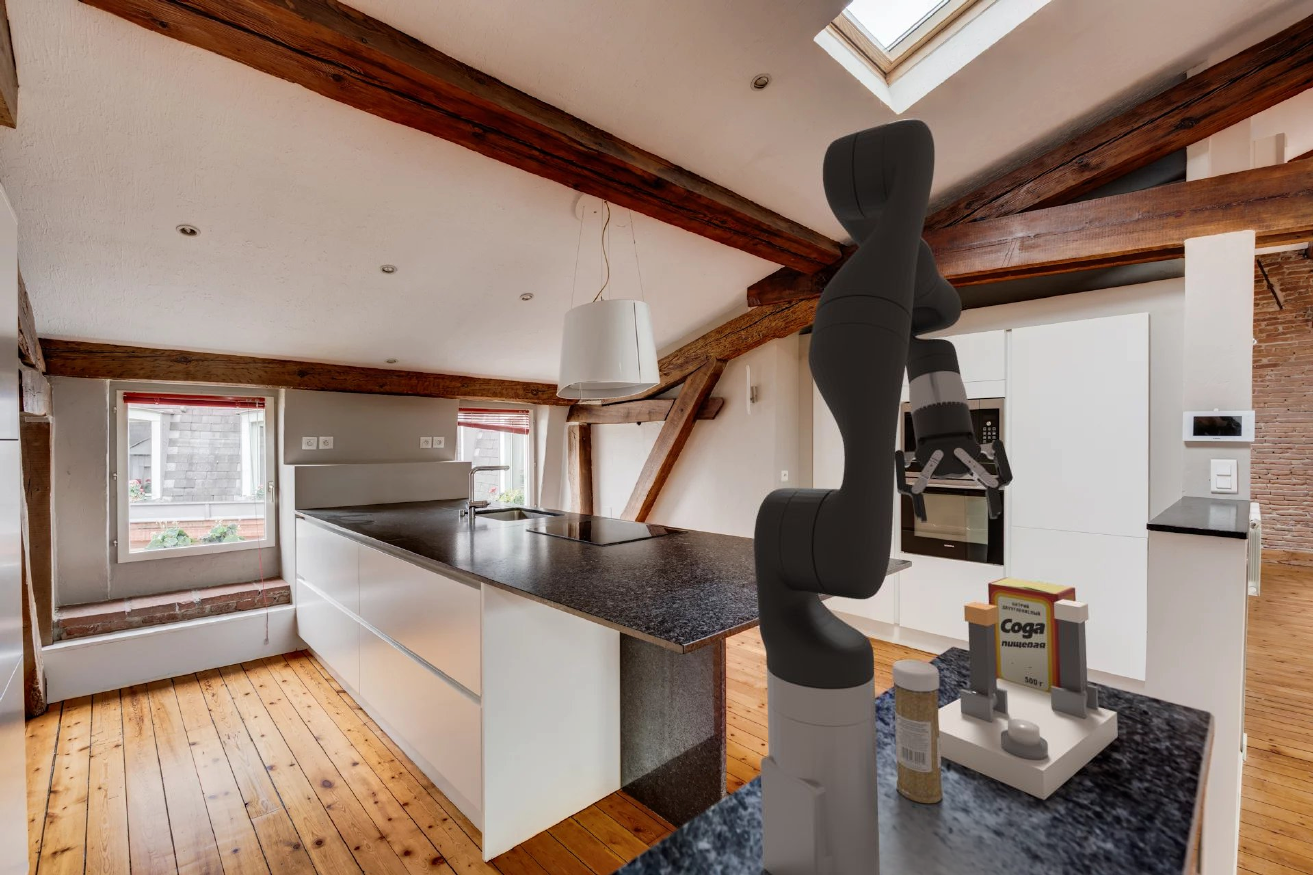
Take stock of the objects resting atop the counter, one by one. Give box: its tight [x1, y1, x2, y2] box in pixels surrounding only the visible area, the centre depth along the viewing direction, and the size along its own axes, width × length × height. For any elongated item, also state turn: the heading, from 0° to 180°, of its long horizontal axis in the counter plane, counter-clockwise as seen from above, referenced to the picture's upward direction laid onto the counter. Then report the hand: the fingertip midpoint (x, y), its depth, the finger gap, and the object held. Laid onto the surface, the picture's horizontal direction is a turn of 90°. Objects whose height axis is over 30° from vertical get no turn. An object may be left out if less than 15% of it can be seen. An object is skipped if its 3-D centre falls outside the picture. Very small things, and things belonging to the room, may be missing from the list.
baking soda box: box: [987, 577, 1077, 693], centre depth 87 cm, size 10×6×16 cm
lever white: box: [1054, 599, 1090, 702], centre depth 74 cm, size 3×3×13 cm
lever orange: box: [963, 601, 998, 707], centre depth 73 cm, size 3×3×13 cm
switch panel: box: [938, 678, 1119, 801], centre depth 72 cm, size 22×14×6 cm, turn 125°
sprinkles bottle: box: [891, 659, 944, 804], centre depth 61 cm, size 5×5×13 cm
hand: (958, 520), depth 78 cm, fingers open, 8 cm apart
